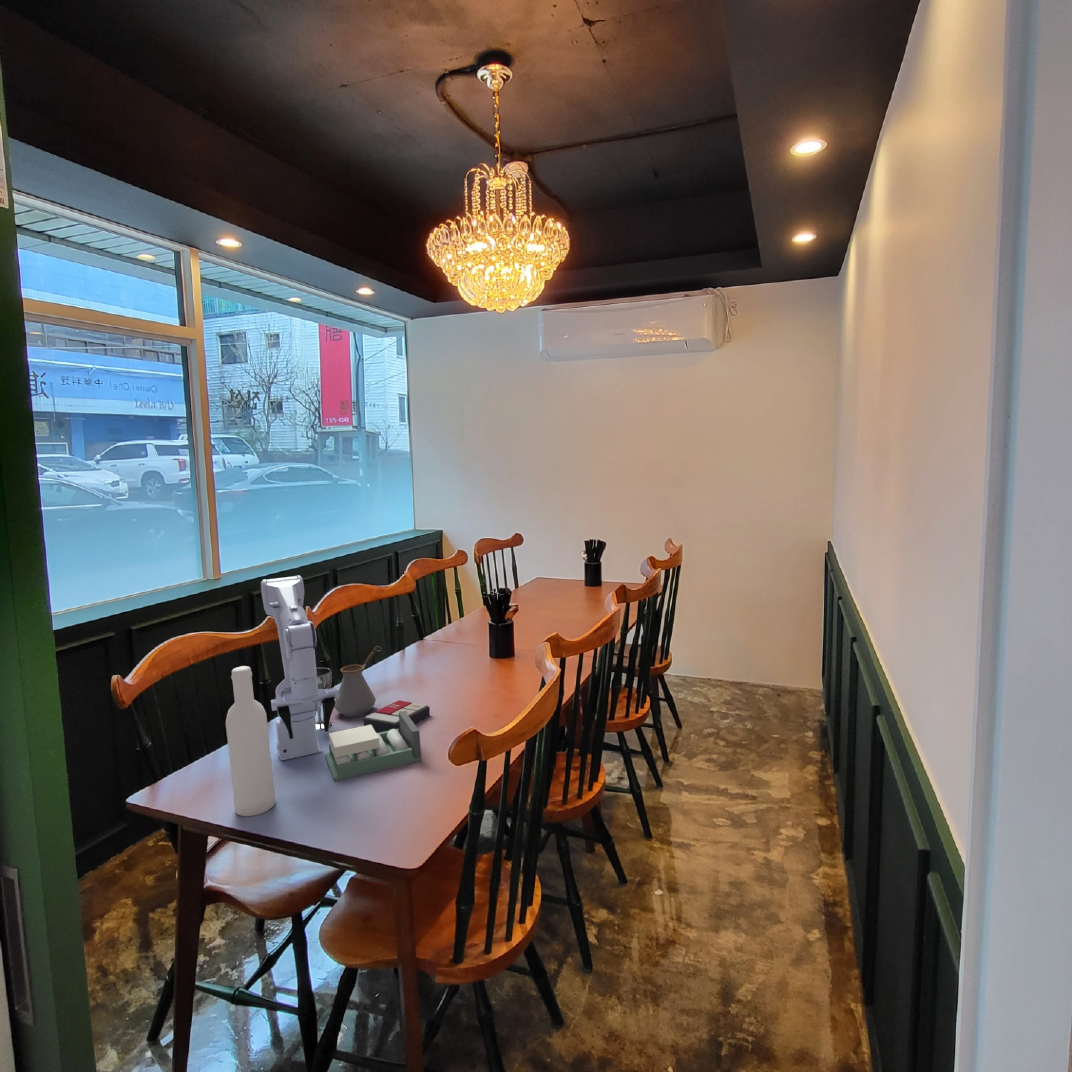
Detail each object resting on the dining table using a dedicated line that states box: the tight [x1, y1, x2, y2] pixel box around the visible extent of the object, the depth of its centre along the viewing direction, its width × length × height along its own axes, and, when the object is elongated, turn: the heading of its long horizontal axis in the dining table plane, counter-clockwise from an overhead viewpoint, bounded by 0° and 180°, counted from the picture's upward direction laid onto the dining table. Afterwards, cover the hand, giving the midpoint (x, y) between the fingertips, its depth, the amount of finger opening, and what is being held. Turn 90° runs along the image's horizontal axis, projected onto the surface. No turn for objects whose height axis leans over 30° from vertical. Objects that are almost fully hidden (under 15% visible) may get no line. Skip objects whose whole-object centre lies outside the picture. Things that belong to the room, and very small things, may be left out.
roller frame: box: [324, 711, 422, 782], centre depth 161 cm, size 20×14×7 cm
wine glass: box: [316, 666, 334, 729], centre depth 182 cm, size 8×8×15 cm
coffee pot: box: [334, 645, 383, 718], centre depth 195 cm, size 21×12×15 cm, turn 164°
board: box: [328, 725, 380, 758], centre depth 159 cm, size 10×9×2 cm
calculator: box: [363, 700, 431, 733], centre depth 182 cm, size 11×4×15 cm
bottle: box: [225, 665, 276, 817], centre depth 139 cm, size 8×8×30 cm
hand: (308, 733), depth 154 cm, fingers open, 7 cm apart
